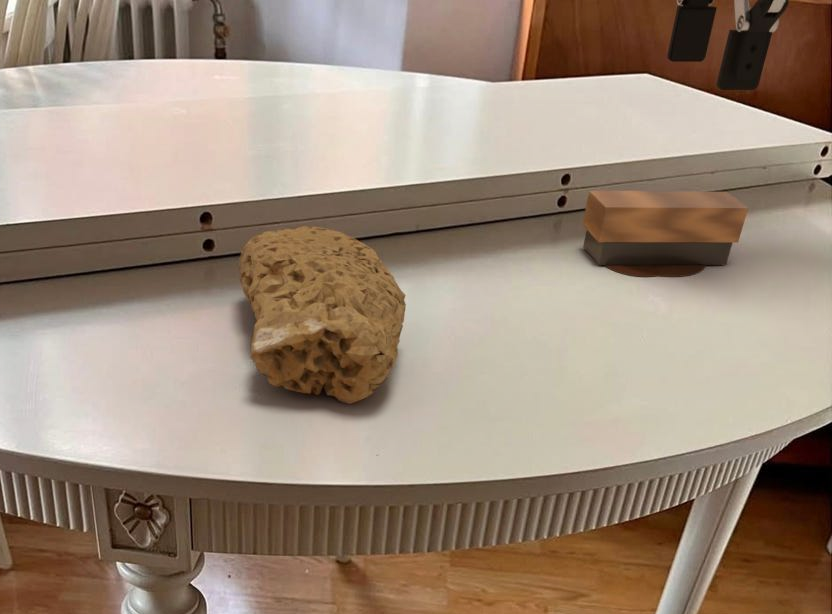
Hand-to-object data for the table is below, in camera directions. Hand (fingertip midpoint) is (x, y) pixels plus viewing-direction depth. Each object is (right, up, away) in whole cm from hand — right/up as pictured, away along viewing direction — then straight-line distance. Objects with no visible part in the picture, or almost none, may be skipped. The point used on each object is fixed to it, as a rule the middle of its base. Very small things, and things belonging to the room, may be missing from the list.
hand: (709, 74), depth 81 cm
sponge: (-32, -24, -8) cm, 40 cm away
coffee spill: (-2, -11, +10) cm, 15 cm away
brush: (-2, -11, +10) cm, 15 cm away
